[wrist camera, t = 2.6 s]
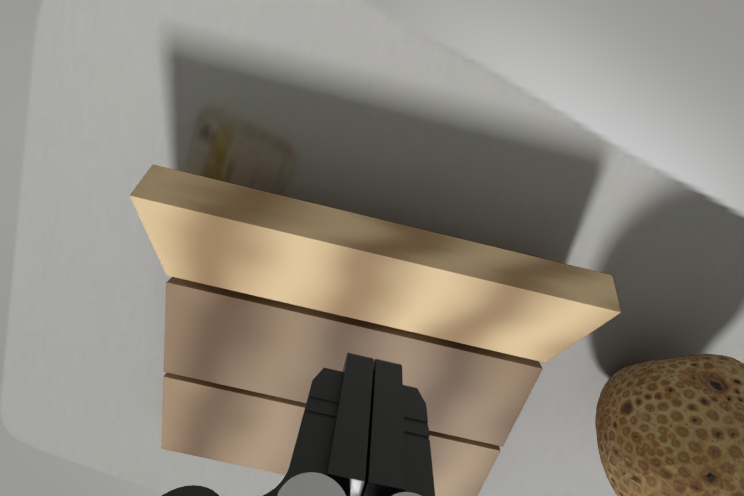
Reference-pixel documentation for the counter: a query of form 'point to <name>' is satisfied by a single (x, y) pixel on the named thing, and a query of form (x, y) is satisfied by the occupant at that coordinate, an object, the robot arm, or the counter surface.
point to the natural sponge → (674, 427)
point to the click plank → (369, 267)
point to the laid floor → (303, 363)
